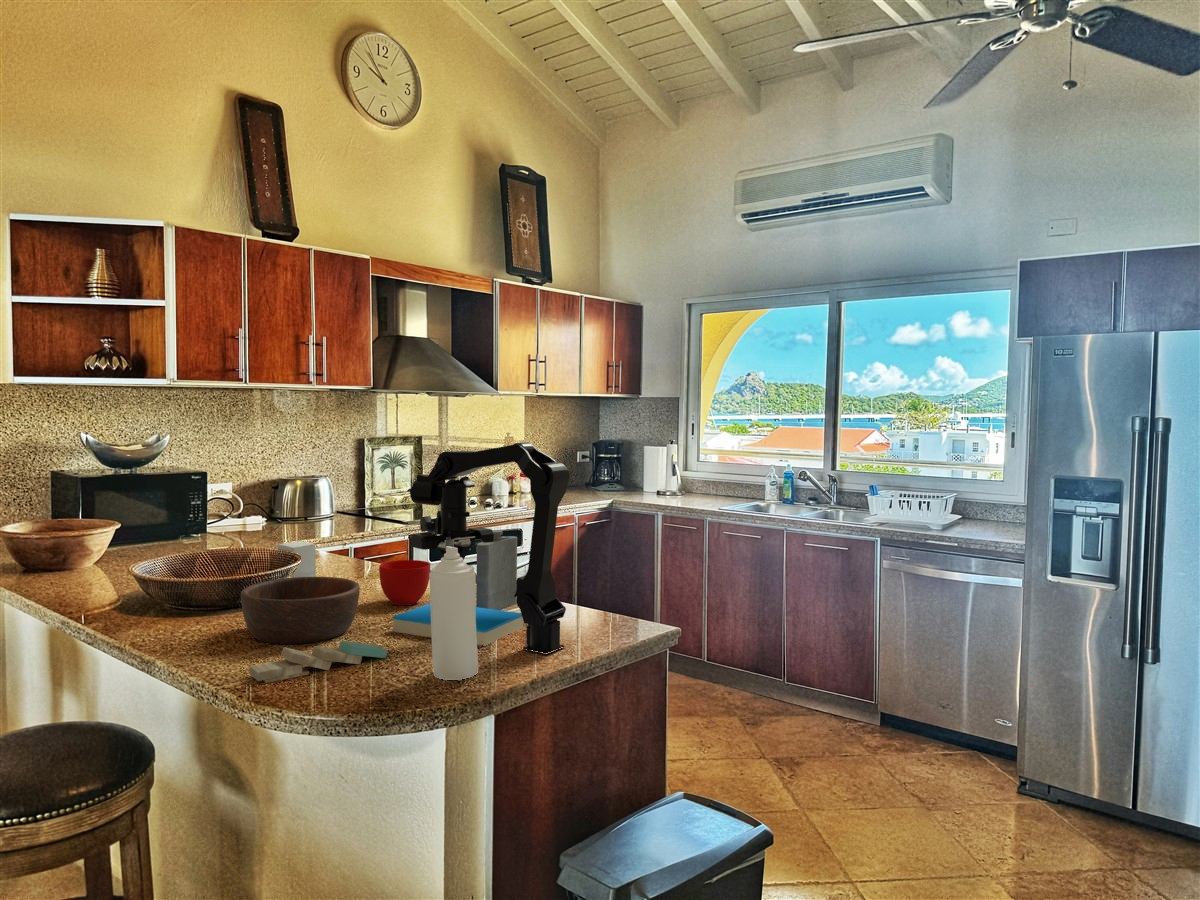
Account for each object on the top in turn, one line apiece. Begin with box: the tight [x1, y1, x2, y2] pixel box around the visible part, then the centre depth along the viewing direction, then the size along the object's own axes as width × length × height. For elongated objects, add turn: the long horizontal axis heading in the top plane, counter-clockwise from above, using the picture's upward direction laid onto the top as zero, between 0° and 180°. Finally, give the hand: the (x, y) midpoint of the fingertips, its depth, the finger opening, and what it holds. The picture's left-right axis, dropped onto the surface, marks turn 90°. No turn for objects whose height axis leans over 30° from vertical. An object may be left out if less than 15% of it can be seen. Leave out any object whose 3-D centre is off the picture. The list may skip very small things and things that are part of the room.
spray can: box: [429, 546, 479, 681], centre depth 153 cm, size 12×11×25 cm
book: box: [391, 603, 526, 647], centre depth 186 cm, size 17×4×25 cm
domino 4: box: [311, 645, 363, 665], centre depth 159 cm, size 2×5×8 cm
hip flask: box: [476, 529, 518, 610], centre depth 205 cm, size 16×4×20 cm, turn 154°
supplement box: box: [277, 540, 317, 578], centre depth 225 cm, size 7×7×13 cm
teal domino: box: [337, 640, 388, 659], centre depth 163 cm, size 2×5×8 cm
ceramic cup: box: [378, 559, 431, 606], centre depth 213 cm, size 13×17×10 cm
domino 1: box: [249, 658, 303, 682], centre depth 152 cm, size 2×5×8 cm
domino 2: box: [262, 666, 310, 684], centre depth 153 cm, size 2×5×8 cm
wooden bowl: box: [240, 576, 361, 645], centre depth 182 cm, size 25×25×10 cm
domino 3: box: [280, 646, 333, 671], centre depth 155 cm, size 2×5×8 cm
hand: (453, 576), depth 182 cm, fingers closed
